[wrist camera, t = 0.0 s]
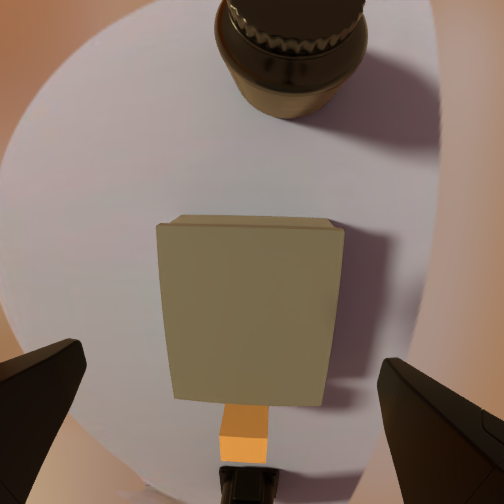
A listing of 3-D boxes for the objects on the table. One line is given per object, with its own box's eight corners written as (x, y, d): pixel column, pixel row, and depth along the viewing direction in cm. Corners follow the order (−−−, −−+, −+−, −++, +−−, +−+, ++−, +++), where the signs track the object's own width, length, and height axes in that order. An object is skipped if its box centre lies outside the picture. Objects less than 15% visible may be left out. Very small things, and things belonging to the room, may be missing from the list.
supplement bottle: (344, 43, 18) (405, -45, 7) (323, 131, 20) (382, 102, 9) (247, 20, 18) (225, -86, 7) (223, 107, 20) (170, 53, 9)
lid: (313, 416, 23) (319, 462, 18) (183, 409, 24) (169, 453, 19) (338, 224, 19) (359, 246, 14) (165, 220, 19) (133, 239, 15)
